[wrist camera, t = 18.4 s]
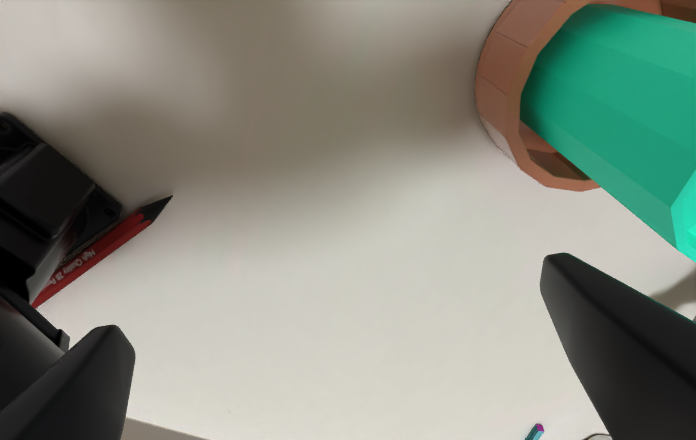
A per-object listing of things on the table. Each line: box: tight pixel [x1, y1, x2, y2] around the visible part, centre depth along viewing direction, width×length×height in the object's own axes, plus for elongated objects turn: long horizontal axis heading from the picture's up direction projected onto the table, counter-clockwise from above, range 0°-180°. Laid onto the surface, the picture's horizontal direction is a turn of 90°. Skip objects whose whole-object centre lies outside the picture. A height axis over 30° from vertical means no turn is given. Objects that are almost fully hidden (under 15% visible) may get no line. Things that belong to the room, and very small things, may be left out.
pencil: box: [31, 195, 173, 308], centre depth 22 cm, size 1×14×1 cm, turn 124°
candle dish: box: [475, 0, 696, 192], centre depth 19 cm, size 9×9×4 cm
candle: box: [520, 4, 696, 262], centre depth 15 cm, size 6×6×12 cm
